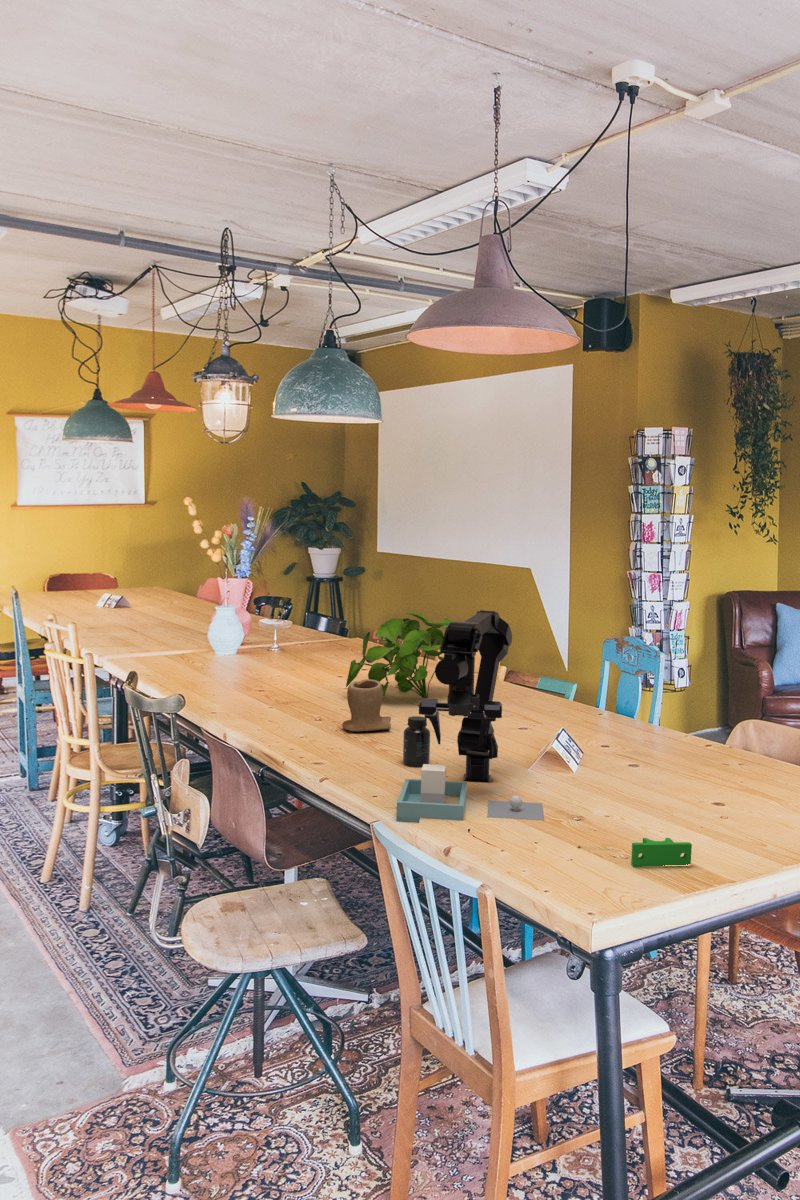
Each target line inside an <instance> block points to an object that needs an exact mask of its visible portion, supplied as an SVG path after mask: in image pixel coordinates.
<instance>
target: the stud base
mask: <svg viewBox="0 0 800 1200" xmlns="http://www.w3.org/2000/svg"><path fill="white" fill-rule="evenodd" d="M487 800H488V799H487ZM486 818H494V819H495V818H496V819H512V820H515V819H516V820H527V821H528V820H529V821H545V815H544V806H543V803H541V802H527V801H526V802H525V801H523V799H522V797H521V796H519V795H516V794H514V795H512V796H511V797H510V798H509V800H492V799H491V800H488V801H487V813H486Z"/></svg>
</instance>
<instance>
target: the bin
mask: <svg viewBox="0 0 800 1200" xmlns="http://www.w3.org/2000/svg"><path fill="white" fill-rule="evenodd" d="M467 786H468V782H464V781H453V780H450V781H449V780H445V796H451V797H453V796H454V797H459V800H458V801H459V803H445V804H443V803H425V802H421V778H420V779H418V778H405V779H404V782H403V785H402V787H401V791H400V793H399V796H398V799H397V801H396V819H395V820H396V822H409V823H410V822H411V823H420V820H421V819H434V820H435V819H436V820H450V821H451V820H452V821H464V817H465V809H466V803H467V801H466V800H467Z"/></svg>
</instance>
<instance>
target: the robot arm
mask: <svg viewBox="0 0 800 1200" xmlns="http://www.w3.org/2000/svg"><path fill="white" fill-rule="evenodd" d="M443 636H444V637H443V641H442V645H441V648H439V649H440V650H439V652H440V653H442V654H444V655H443V658H444V659H443V660H439V661H438V662H437V663H436V665H435V668H434V671H435V673H434V675H435V677H436V679H437V681H438V682H440V683H441V684H443V685H448V695H447V700H446V701H447V702H439V701H438V698H429V697H428V698H422V699H421V700H420V701H419V704H418V715H424V717H425V718H427V719H429V721H430V723H431V725H432V727H433V729H434V730H433V731H434V734H435V737H436V740H437V744H438V745H441V739H442V737H441V736H442V735H441V723H440V722H441V721H440V712H448V715H449V716H450V717H455V716H457V717H458V716H459V717H460V716H461V717H463V719H462V720H461V726H460V729H459V731H458V733H457V739H456V740H457V741H456V742H457V751H458V756H465V773H464V775H463V779H462V782H467V783H484V784H488V783H489V784H490V783H491V781H492V780H491V779H492V777H491V774H490V760H493V759H498V753H499V746H498V742H497V739H496V737H495V729H494V726H493V724H492V722H496V721H497V719H502V716H503V703H501V701H499V700H498V701H497V700H495V701H494V694H495V689H496V683H497V677H498V673H499V666H500V662H501V661H502V660H504V658H505V657H506V656H507V655H508V652H509V648H510V646H511V645H512V641H513V633H512V630H511V627H510V624H509V623H508V622H507V621H505V620H504V619H503V618H501V617H500V614H499V612H498V611H497V612H496V610H483V609H482V610H481V609H480V610H477V611H476V613H475V614H474V615H473V616H471V617H469V618H467V620H465V621H453V622H451V623H450V624H449V625H448V627H447V628H446V629H445V630H444V633H443ZM448 646H449V647H448ZM476 653H479V654H480V661H479V667H478V674H477V679H476V683H475V667H476V666H475V664H476V658H475V657H476Z"/></svg>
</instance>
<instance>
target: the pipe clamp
mask: <svg viewBox="0 0 800 1200" xmlns="http://www.w3.org/2000/svg"><path fill="white" fill-rule="evenodd" d="M692 845H693V844H692V843H691V842H689V841H688V842H687V841H684V842H683V841H682V842H681V841H680V842H677V841H675V842H674V841H673V840H672V839H671V838H670V837H665V839H664V840H661V841H660V840H653V839H649V838H647V837H642V842H632V843H631V860H630V865H631V866H633V867H632V868H643V867H642V866H663V865H664V866H665V865H686V864H687V865H688V864H692V849H693V847H692ZM682 854H683V855H682ZM640 855H641V856H640Z"/></svg>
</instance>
